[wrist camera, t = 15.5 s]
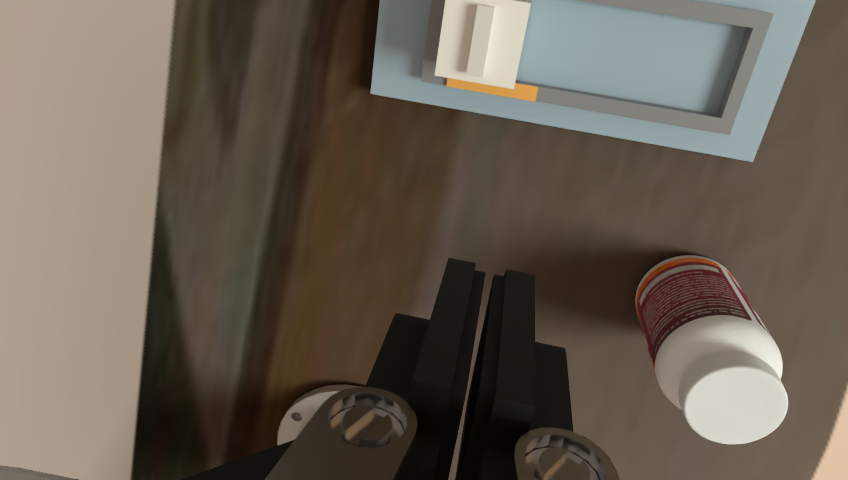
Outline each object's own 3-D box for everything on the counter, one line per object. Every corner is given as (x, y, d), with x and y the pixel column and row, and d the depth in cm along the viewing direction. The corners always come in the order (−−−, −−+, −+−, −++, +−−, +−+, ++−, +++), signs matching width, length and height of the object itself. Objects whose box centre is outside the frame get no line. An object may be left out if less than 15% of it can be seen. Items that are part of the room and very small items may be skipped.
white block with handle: (516, 75, 34) (513, 91, 29) (446, 63, 34) (432, 77, 30) (532, -2, 32) (531, 3, 28) (457, -14, 33) (445, -10, 28)
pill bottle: (614, 308, 40) (639, 419, 30) (672, 234, 38) (721, 330, 28) (694, 351, 41) (745, 476, 31) (758, 281, 38) (836, 393, 28)
